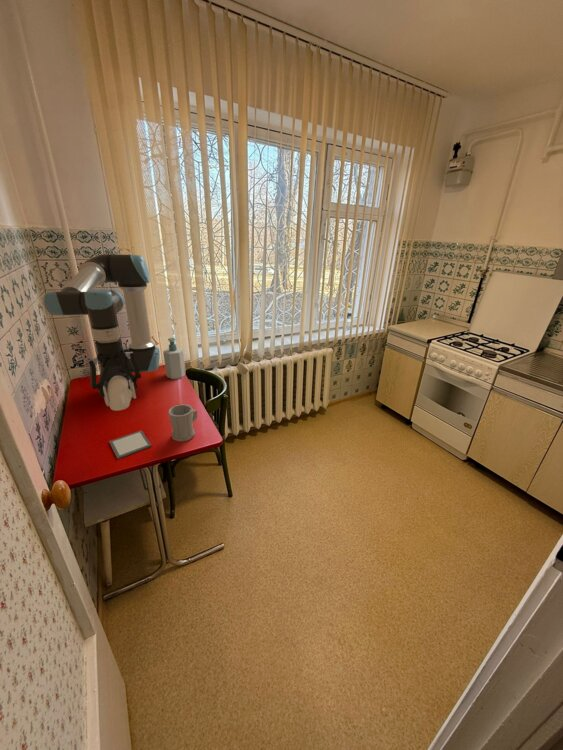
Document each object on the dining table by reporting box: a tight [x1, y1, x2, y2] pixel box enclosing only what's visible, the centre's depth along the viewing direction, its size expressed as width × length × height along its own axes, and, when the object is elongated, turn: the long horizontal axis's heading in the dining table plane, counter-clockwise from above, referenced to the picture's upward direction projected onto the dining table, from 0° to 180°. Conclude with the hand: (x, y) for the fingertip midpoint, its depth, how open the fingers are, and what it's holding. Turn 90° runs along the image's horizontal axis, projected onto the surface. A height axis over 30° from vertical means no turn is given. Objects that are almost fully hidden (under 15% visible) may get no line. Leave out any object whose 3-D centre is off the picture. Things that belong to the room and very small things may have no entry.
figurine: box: [107, 376, 133, 412], centre depth 105 cm, size 7×8×12 cm
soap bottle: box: [162, 337, 186, 380], centre depth 167 cm, size 10×9×22 cm
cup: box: [168, 403, 198, 442], centre depth 120 cm, size 10×9×12 cm
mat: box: [108, 430, 153, 460], centre depth 115 cm, size 12×12×1 cm
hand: (121, 400), depth 107 cm, fingers closed on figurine, 8 cm apart
